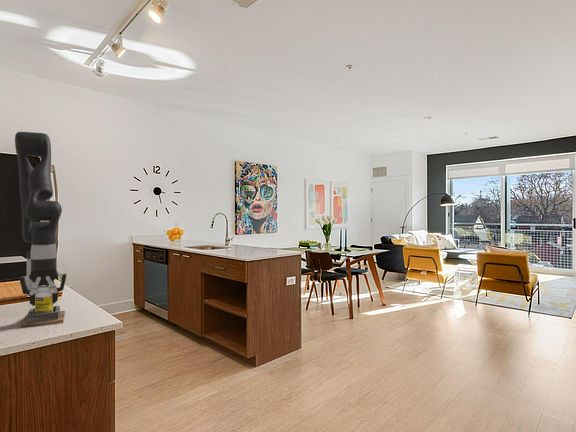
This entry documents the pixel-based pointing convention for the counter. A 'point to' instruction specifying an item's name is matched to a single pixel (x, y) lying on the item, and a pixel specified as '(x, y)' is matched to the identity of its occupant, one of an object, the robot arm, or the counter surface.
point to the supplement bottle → (43, 300)
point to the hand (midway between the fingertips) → (44, 303)
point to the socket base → (43, 318)
